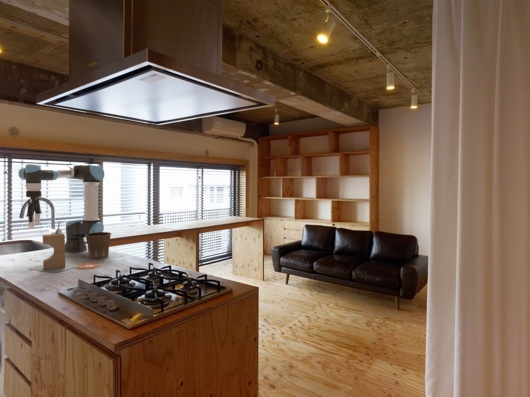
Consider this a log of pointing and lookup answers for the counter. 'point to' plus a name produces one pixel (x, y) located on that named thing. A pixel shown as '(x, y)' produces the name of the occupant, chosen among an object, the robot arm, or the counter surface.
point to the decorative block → (55, 251)
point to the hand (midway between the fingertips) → (34, 226)
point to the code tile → (54, 270)
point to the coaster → (88, 265)
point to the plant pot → (98, 244)
